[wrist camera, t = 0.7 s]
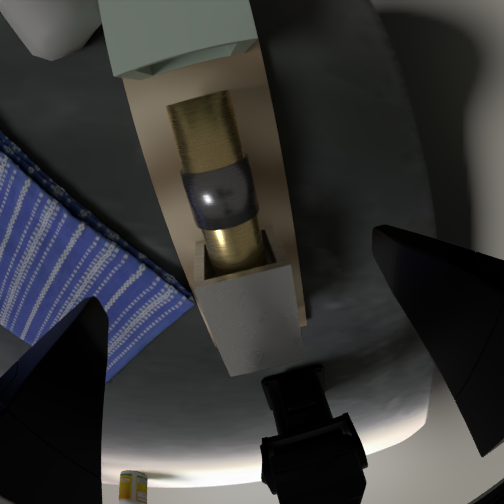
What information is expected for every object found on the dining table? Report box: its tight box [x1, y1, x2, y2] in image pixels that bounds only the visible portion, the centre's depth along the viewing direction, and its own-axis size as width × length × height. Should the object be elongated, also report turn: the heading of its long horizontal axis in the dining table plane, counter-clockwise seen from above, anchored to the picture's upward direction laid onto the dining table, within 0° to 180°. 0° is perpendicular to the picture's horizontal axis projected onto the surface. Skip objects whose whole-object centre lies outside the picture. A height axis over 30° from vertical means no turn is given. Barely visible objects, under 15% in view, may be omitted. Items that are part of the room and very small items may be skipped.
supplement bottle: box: [119, 471, 147, 504], centre depth 38 cm, size 5×5×10 cm
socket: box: [98, 0, 258, 80], centre depth 11 cm, size 6×6×5 cm
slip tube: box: [165, 90, 268, 277], centre depth 17 cm, size 16×4×4 cm, turn 12°
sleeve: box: [193, 224, 304, 377], centre depth 20 cm, size 8×5×5 cm, turn 12°
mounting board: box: [122, 19, 307, 347], centre depth 18 cm, size 28×8×1 cm, turn 12°
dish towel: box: [0, 130, 195, 384], centre depth 19 cm, size 17×24×3 cm
